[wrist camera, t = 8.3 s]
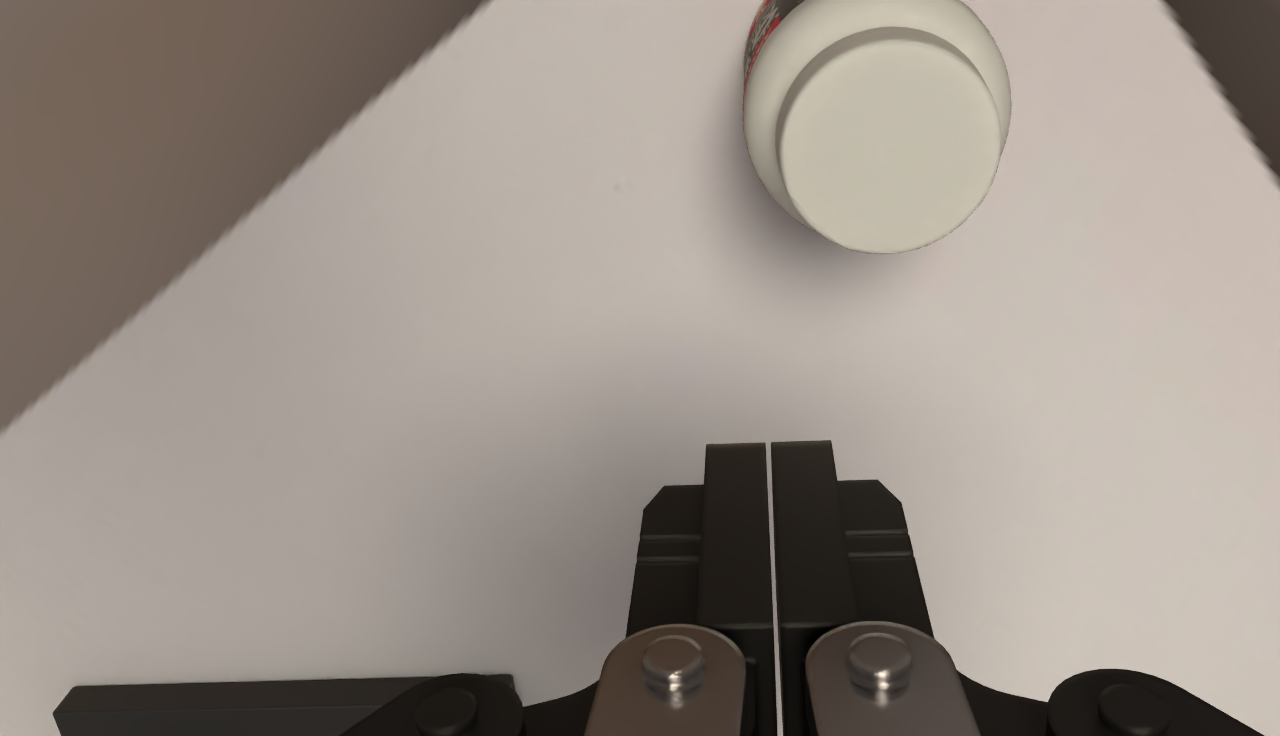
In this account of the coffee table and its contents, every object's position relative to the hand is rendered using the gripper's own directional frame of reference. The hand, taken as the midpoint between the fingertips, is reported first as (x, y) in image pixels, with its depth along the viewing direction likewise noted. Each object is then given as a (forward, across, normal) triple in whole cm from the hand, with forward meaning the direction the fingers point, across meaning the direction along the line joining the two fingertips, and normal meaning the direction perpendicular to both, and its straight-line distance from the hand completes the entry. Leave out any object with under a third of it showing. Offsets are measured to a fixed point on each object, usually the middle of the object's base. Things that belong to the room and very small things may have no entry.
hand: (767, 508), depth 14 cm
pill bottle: (+19, -2, -2) cm, 19 cm away
